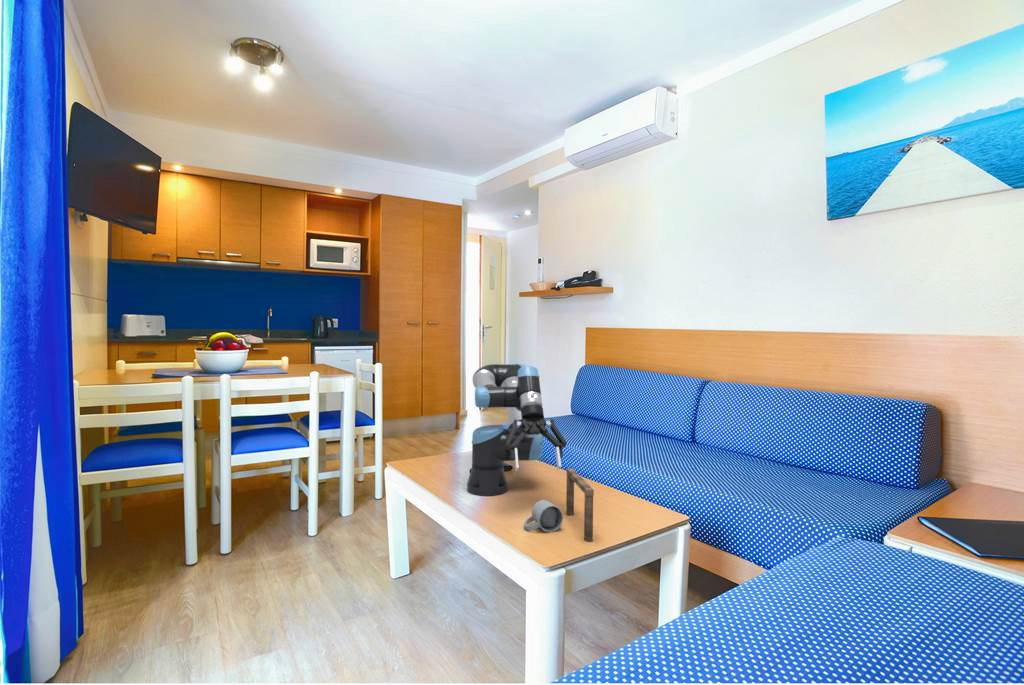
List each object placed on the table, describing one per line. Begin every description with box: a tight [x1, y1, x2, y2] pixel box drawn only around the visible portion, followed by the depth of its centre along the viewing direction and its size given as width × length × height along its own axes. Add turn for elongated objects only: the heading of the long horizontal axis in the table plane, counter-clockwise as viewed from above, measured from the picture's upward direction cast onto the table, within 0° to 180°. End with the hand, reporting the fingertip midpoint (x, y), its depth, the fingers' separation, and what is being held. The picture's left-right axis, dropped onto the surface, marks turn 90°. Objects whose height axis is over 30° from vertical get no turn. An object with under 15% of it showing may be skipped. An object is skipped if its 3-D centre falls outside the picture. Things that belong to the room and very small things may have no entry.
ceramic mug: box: [523, 499, 564, 533], centre depth 145 cm, size 11×8×8 cm
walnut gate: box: [565, 467, 595, 543], centre depth 146 cm, size 22×2×14 cm, turn 8°
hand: (538, 468), depth 154 cm, fingers open, 13 cm apart
